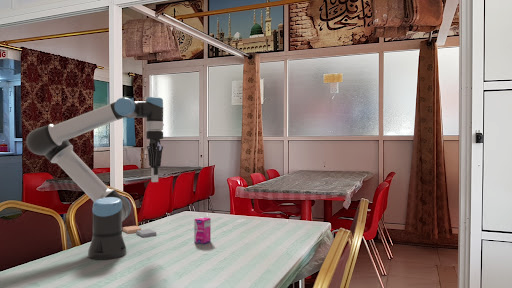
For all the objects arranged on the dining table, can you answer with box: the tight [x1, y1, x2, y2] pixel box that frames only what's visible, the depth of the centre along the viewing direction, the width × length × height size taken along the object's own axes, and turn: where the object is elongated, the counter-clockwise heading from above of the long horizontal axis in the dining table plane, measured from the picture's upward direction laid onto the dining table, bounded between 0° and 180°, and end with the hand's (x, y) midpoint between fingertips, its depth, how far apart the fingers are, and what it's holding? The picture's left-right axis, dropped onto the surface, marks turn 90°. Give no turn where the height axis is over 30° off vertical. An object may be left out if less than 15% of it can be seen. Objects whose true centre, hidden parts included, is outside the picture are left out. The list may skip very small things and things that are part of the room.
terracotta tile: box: [122, 225, 142, 234], centre depth 211 cm, size 7×2×9 cm
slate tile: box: [136, 228, 157, 238], centre depth 203 cm, size 7×2×9 cm
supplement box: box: [193, 216, 212, 245], centre depth 188 cm, size 6×6×12 cm
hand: (154, 181), depth 182 cm, fingers closed
